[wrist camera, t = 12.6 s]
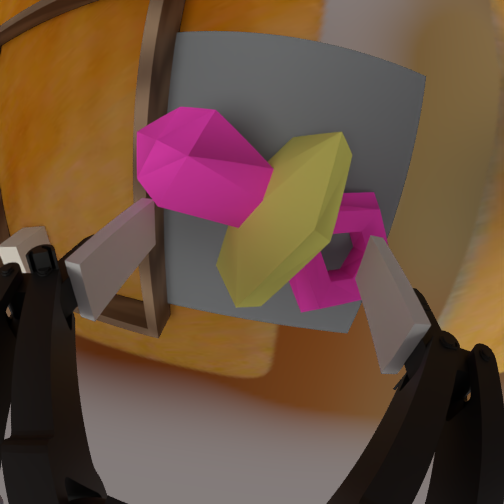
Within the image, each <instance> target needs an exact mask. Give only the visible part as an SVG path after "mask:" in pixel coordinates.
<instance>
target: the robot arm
mask: <svg viewBox="0 0 504 504" xmlns="http://www.w3.org/2000/svg"><path fill="white" fill-rule="evenodd" d="M155 245H156V240H155V210H154V201H153V199H147V198H141V199H140V200H138V201H137V202H136V203H134V204H133V205H132V206H130V207H129V208H128V209H126V210H125V211H124V212H122V213H121V214H120V215H119V216H117V217H116V218H115V219H113V220H112V221H111V222H110V223H108V224H107V225H106V226H105V227H103V228H102V229H101V230H100V231H98V232H97V233H96V234H95V235H94V234H93V235H91V236H89V237H87V238H85V239H83V240H82V241H81V242H80V243H79V244H78V245H76V246H75V247H74V248H73V249H72V250H70V251H69V252H68V253H67V254H66V255H65V256H63V257H62V258H61V259H60V260H59V261H57V257H56V253H55V249H54V247H53V246H52V245H49V244H42V245H38V246H36V247H34V248H32V249H31V250H29V251H28V252H27V254H26V259H27V262H28V265H29V269H30V272H31V273H22V271H21V268H20V265H19V264H18V263H16V262H12V263H6V264H4V266H2V267H1V268H0V468H1V460H2V467H3V475H4V481H5V487H6V492H7V497H8V502H9V504H127V503H125V502H122V501H120V500H117V499H115V498H113V497H110V496H107V493H106V490H105V488H104V485H103V483H102V481H101V479H100V477H99V475H98V474H97V472H96V470H95V468H94V466H93V463H92V459H91V455H90V451H89V446H88V442H87V437H86V432H85V427H84V422H83V415H82V409H81V402H80V395H79V386H78V376H77V364H76V347H75V346H76V345H75V317H74V313H73V311H74V310H75V308H76V307H77V306H78V309H79V312H80V315H81V317H84V318H87V319H89V320H92V321H96V320H97V318H98V317H99V315H100V314H101V313H102V311H103V310H104V309H105V307H106V306H107V305H108V303H109V302H110V301H111V299H112V298H113V297H114V295H115V294H116V293H117V292H118V290H119V289H120V288H121V286H122V285H123V284H124V283H125V281H126V280H127V279H128V278H129V276H130V275H131V274H132V273H133V271H134V270H135V269H136V268H137V266H138V265H139V264H140V263H141V261H142V260H143V259H144V258H145V257H146V255H147V254H148V253H149V252H150V251H151V249H152V248H153V247H154V246H155ZM355 280H356V283H357V286H358V289H359V293H360V296H361V299H362V302H363V306H364V309H365V313H366V316H367V320H368V323H369V327H370V330H371V334H372V338H373V342H374V346H375V350H376V354H377V357H378V362H379V366H380V370H381V374H397V373H398V372H399V371H400V369H401V368H402V367H403V365H405V368H406V371H407V372H406V374H405V375H404V376H403V377H402V379H401V380H400V381H399V382H398V384H397V385H396V386H395V387H394V388H393V389H394V390H396V389H397V390H396V393H395V395H394V397H393V399H392V401H391V403H390V405H389V407H388V409H387V411H386V413H385V415H384V417H383V419H382V421H381V422H380V424H379V426H378V428H377V430H376V431H375V433H374V435H373V437H372V439H371V440H370V442H369V443H368V445H367V447H366V448H365V450H364V452H363V453H362V455H361V456H360V458H359V460H358V461H357V462H356V464H355V466H354V467H353V469H352V470H351V471H350V473H349V474H348V476H347V477H346V479H345V480H344V481H343V483H342V484H341V486H340V487H339V488H338V490H337V491H336V492H335V494H334V495H333V496H332V497H331V499H330V500H329V501H328V502H327V504H412V503H413V501H414V499H415V497H416V495H417V493H418V491H419V489H420V487H421V484H422V482H423V480H424V478H425V475H426V473H427V471H428V468H429V466H430V463H431V460H432V458H433V455H434V453H435V455H434V462H433V468H432V474H431V479H430V484H429V490H428V493H427V498H426V502H425V504H503V502H504V403H503V396H502V389H501V383H500V377H499V372H498V367H497V362H496V358H495V355H494V353H493V352H492V350H491V349H490V348H489V347H488V346H486V345H484V344H480V343H479V344H476V345H475V346H474V348H473V349H472V350H471V352H470V351H467V350H464V349H461V348H460V345H459V343H458V341H457V339H456V338H455V337H454V336H453V335H452V334H450V333H449V332H446V331H442V330H441V329H440V327H439V324H438V322H437V321H436V319H435V317H434V315H433V313H432V312H431V309H430V307H429V305H428V303H427V301H426V300H425V298H424V296H423V295H422V294H421V293H420V292H419V291H418V290H417V289H415V288H412V286H411V284H410V283H409V281H408V279H407V277H406V275H405V274H404V272H403V270H402V268H401V267H400V265H399V264H398V262H397V260H396V258H395V257H394V255H393V253H392V252H391V250H390V248H389V247H388V245H387V243H386V242H385V240H384V239H383V238H381V237H377V236H372V235H370V238H369V241H368V244H367V247H366V250H365V252H364V255H363V258H362V261H361V264H360V266H359V269H358V272H357V275H356V277H355ZM7 307H9V309H10V311H11V315H10V317H8V316H7V314H6V309H7ZM397 387H398V388H397ZM470 392H471V397H470V399H469V400H468V401H467V395H468V394H469V393H470ZM10 404H11V436H10V438H8V439H5V440H4V435H5V429H6V423H7V418H8V413H9V408H10ZM0 504H3V499H2V497H1V496H0Z"/></svg>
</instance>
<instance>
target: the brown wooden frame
mask: <svg viewBox="0 0 504 504" xmlns="http://www.w3.org/2000/svg"><path fill="white" fill-rule="evenodd" d="M95 1H98V0H41V1H39V2H37V3H35V4H34V5H32V6H30V7H28V8H27V9H25V10H23V11H22V12H20V13H19V14H17V15H16V16H14V17H12V18H11V19H9V20H8V21H6V22H5V23H4V24H2V25H1V26H0V52H1V46H2V45H3V44H4V43H6V42H8V41H9V40H11V39H13V38H14V37H16V36H18V35H20V34H21V33H23V32H25V31H27V30H29V29H31V28H33V27H35V26H37V25H39V24H41V23H43V22H45V21H47V20H49V19H51V18H53V17H56V16H58V15H60V14H63V13H65V12H67V11H70V10H72V9H75V8H78V7H80V6H83V5H86V4H89V3H92V2H95ZM184 3H185V0H150V3H149V7H148V12H147V17H146V22H145V28H144V33H143V39H142V46H141V53H140V60H139V68H138V77H137V87H136V98H135V112H134V133H133V195H134V203H136V202H137V201H138V200H140V199H141V198H147V199H152V198H151V197H150V196H149V194H148V193H147V192H146V190H145V189H144V188H143V186H142V185H141V184H140V182H139V181H138V179H137V131H139V130H140V129H142V128H144V127H145V126H147V125H149V124H150V123H152V122H154V121H155V120H157V119H159V118H161V117H162V116H164V115H166V114H167V108H168V97H169V87H170V78H171V70H172V62H173V55H174V48H175V41H176V35H177V32H179V30H180V24H181V19H182V13H183V8H184ZM154 210H155V240H156V245H155V246H154V247H153V248H152V249H151V251H150V252H149V253H148V254H147V255H146V257H145V258H144V259H143V260H142V261H141V263H140V264H139V273H140V281H141V289H142V296H143V301H139V300H135V299H131V298H127V297H124V296H120V295H116V294H115V295H114V297H113V298H112V299H111V301H110V302H109V303H108V305H107V306H106V307H105V309H104V310H103V311H102V313H101V314H100V315H99V317H98V318H97V320H99V321H102V322H105V323H108V324H111V325H114V326H117V327H120V328H123V329H127V330H130V331H133V332H137V333H140V334H144V335H147V336H151V337H155V338H159V337H160V335H161V333H162V331H163V328H164V326H165V324H166V322H167V320H168V318H169V316H170V306H169V303H168V300H167V287H166V271H165V250H164V208H161V207H158V206H157V205H156V203H155V202H154ZM9 237H10V235H9V231H8V227H7V222H6V218H5V213H4V208H3V203H2V197H1V191H0V244H1V243H3V242H4V241H5V240H7V239H8V238H9ZM2 266H4V264H3V261H2V259H1V256H0V268H1V267H2ZM73 312H76V313H79V314H80V312H79V309H78V306H77V307H76V308H75V310H74V311H73Z"/></svg>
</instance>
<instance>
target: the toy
mask: <svg viewBox="0 0 504 504" xmlns="http://www.w3.org/2000/svg"><path fill="white" fill-rule="evenodd" d="M351 159H352V153H351V150H350V148H349V146H348V144H347V141H346V139H345V137H344V135H343V133H342V132H333V133H323V134H315V135H307V136H299V137H293V138H292V139H291V140H290V141H288V142H287V143H286V144H285V145H284V146H283V147H282V148H281V149H280V150H279V151H278V152H277V153H276V154H275V155H274V156H273V157H272V158H271V159H270V160H269V161H268V162H267V161H266V160H265V159H264V158H263V157H262V156H261V155H260V154H259V153H258V152H257V151H256V149H255V148H254V147H253V146H252V145H251V144H250V143H249V142H248V141H247V140H246V139H245V138H244V137H243V136H242V135H241V134H240V133H239V132H238V131H237V130H236V129H235V128H234V127H233V126H232V125H231V124H230V123H229V122H228V121H227V120H226V119H225V118H224V117H223V116H222V115H221V114H220V113H219V112H218V111H217V110H213V109H204V108H192V107H179V108H177V109H175V110H173V111H171V112H170V113H168V114H166V115H164V116H162V117H161V118H159V119H157V120H155V121H154V122H152V123H150V124H149V125H147V126H145V127H144V128H142V129H140V130H139V131H137V179H138V181H139V182H140V184H141V185H142V186H143V188H144V189H145V190H146V192H147V193H148V194H149V196H150V197H151V198H152V199H153V201H154V202H155V203H156V205H157V206H158V207H161V208H165V209H169V210H173V211H177V212H181V213H184V214H188V215H192V216H196V217H199V218H203V219H207V220H210V221H214V222H218V223H222V224H225V225H228V228H227V231H226V234H225V237H224V241H223V244H222V247H221V250H220V254H219V257H218V260H217V264H216V266H217V269H218V271H219V273H220V275H221V277H222V279H223V281H224V284H225V286H226V288H227V290H228V292H229V294H230V296H231V298H232V300H233V302H234V305H235V307H236V308H238V307H259V306H262V305H263V304H264V303H265V302H266V301H267V300H269V299H270V298H271V297H272V296H273V295H274V294H275V293H276V292H277V291H278V290H280V289H281V288H282V287H283V286H284V285H285V284H286V283H287V282H288V281H289V283H290V286H291V288H292V291H293V293H294V296H295V298H296V301H297V303H298V306H299V308H300V311H301V312H306V311H312V310H317V309H322V308H327V307H332V306H336V305H341V304H345V303H350V302H354V301H358V300H362V299H361V296H360V293H359V289H358V286H357V283H356V280H355V277H356V275H357V272H358V269H359V266H360V264H361V261H362V258H363V255H364V252H365V250H366V247H367V244H368V241H369V238H370V235H372V236H377V237H381V238H383V239H384V240H385V242H386V243H387V237H386V233H385V228H384V224H383V220H382V216H381V212H380V208H379V205H378V202H377V199H376V196H375V194H374V192H363V193H344V189H345V185H346V180H347V176H348V172H349V168H350V163H351ZM338 233H349V234H350V237H351V241H352V244H353V248H352V249H351V251H350V253H349V254H348V256H347V258H346V259H345V261H344V262H343V264H342V266H341V267H340V269H336V270H329V271H327V269H326V266H325V263H324V260H323V257H322V254H321V250H322V249H323V248H324V247H325V246H326V245H327V244H328V243H329V242H330V241H331V238H332V234H338ZM387 245H388V243H387Z"/></svg>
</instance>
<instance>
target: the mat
mask: <svg viewBox="0 0 504 504" xmlns="http://www.w3.org/2000/svg"><path fill="white" fill-rule="evenodd" d="M425 81H426V76H424V75H422V74H420V73H417V72H415V71H412V70H410V69H408V68H405V67H403V66H400V65H397V64H395V63H392V62H389V61H386V60H383V59H380V58H377V57H374V56H371V55H368V54H365V53H361V52H358V51H354V50H351V49H347V48H343V47H339V46H335V45H330V44H326V43H321V42H316V41H311V40H306V39H300V38H294V37H287V36H280V35H271V34H261V33H249V32H228V31H198V32H177V35H176V41H175V48H174V55H173V62H172V70H171V78H170V87H169V97H168V108H167V114H168V113H170V112H171V111H173V110H175V109H177V108H179V107H192V108H204V109H213V110H217V111H218V112H219V113H220V114H221V115H222V116H223V117H224V118H225V119H226V120H227V121H228V122H229V123H230V124H231V125H232V126H233V127H234V128H235V129H236V130H237V131H238V132H239V133H240V134H241V135H242V136H243V137H244V138H245V139H246V140H247V141H248V142H249V143H250V144H251V145H252V146H253V147H254V148H255V149H256V151H257V152H258V153H259V154H260V155H261V156H262V157H263V158H264V159H265V160H266V161H267V162H268V161H269V160H270V159H271V158H272V157H273V156H274V155H275V154H276V153H277V152H278V151H279V150H280V149H281V148H282V147H283V146H284V145H285V144H286V143H287V142H288V141H290V140H291V139H292V138H293V137H299V136H307V135H315V134H323V133H333V132H342V133H343V135H344V137H345V139H346V141H347V144H348V146H349V148H350V150H351V153H352V159H351V163H350V168H349V172H348V176H347V180H346V185H345V189H344V193H363V192H374V194H375V196H376V199H377V202H378V205H379V208H380V212H381V216H382V220H383V224H384V228H385V233H386V237H388V235H389V232H390V229H391V226H392V223H393V220H394V217H395V213H396V210H397V207H398V204H399V200H400V197H401V194H402V190H403V187H404V183H405V180H406V176H407V172H408V168H409V165H410V161H411V156H412V152H413V148H414V143H415V139H416V134H417V128H418V124H419V119H420V113H421V107H422V102H423V94H424V88H425ZM227 228H228V225H225V224H222V223H218V222H214V221H210V220H207V219H203V218H199V217H196V216H192V215H188V214H184V213H181V212H177V211H173V210H169V209H165V208H164V250H165V271H166V287H167V300H168V303H170V304H174V305H178V306H183V307H188V308H192V309H197V310H202V311H207V312H212V313H217V314H222V315H227V316H233V317H238V318H244V319H250V320H255V321H261V322H267V323H274V324H280V325H287V326H294V327H302V328H308V329H316V330H324V331H332V332H341V333H348V331H349V329H350V327H351V325H352V322H353V320H354V318H355V316H356V314H357V312H358V309H359V307H360V305H361V303H362V300H358V301H354V302H350V303H345V304H341V305H336V306H332V307H327V308H322V309H317V310H312V311H306V312H301V311H300V308H299V306H298V303H297V301H296V298H295V296H294V293H293V291H292V288H291V286H290V283H289V281H288V282H287V283H286V284H285V285H284V286H283V287H282V288H281V289H280V290H278V291H277V292H276V293H275V294H274V295H273V296H272V297H271V298H270V299H269V300H267V301H266V302H265V303H264V304H263V305H262V306H259V307H238V308H236V307H235V305H234V302H233V300H232V298H231V296H230V294H229V292H228V290H227V288H226V286H225V284H224V281H223V279H222V277H221V275H220V273H219V271H218V269H217V266H216V264H217V260H218V257H219V254H220V250H221V247H222V244H223V241H224V237H225V234H226V231H227ZM352 248H353V244H352V241H351V237H350V234H349V233H338V234H332V238H331V241H330V242H329V243H328V244H327V245H326V246H325V247H324V248H323V249H322V250H321V254H322V257H323V260H324V263H325V266H326V269H327V271H329V270H336V269H340V267H341V266H342V264H343V262H344V261H345V259H346V258H347V256H348V254H349V253H350V251H351V249H352Z"/></svg>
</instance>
